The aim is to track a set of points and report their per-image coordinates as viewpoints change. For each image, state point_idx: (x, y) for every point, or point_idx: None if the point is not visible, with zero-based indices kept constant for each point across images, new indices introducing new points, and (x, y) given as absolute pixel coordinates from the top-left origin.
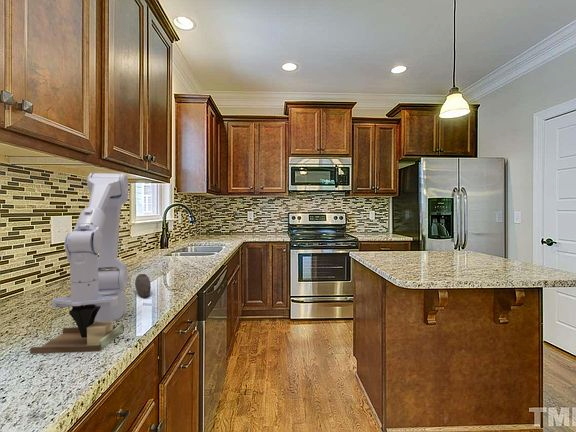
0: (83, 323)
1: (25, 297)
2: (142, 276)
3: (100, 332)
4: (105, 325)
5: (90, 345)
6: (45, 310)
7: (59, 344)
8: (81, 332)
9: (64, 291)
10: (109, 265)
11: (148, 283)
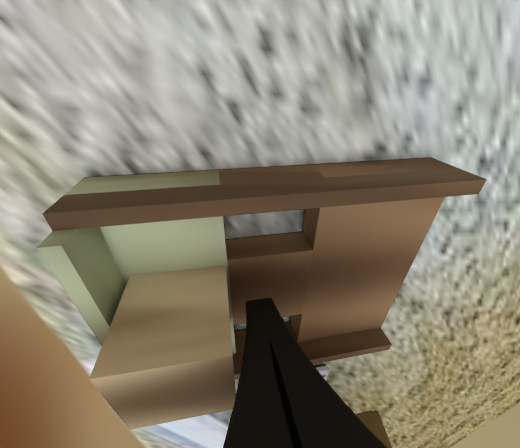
0: (267, 386)
1: (493, 411)
2: None
3: (134, 334)
4: (115, 395)
5: (132, 219)
6: (452, 393)
7: (357, 256)
8: (273, 321)
9: (434, 435)
10: None
11: None
